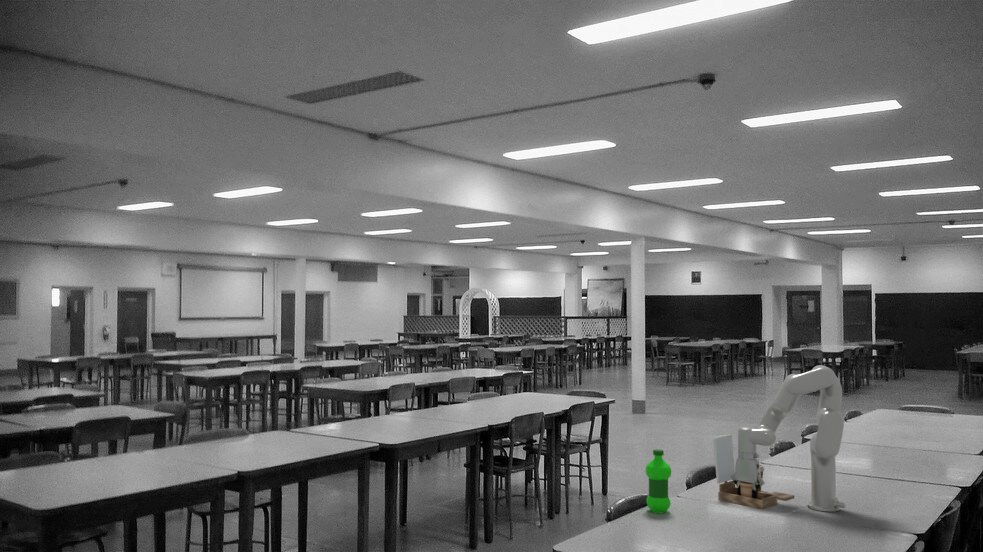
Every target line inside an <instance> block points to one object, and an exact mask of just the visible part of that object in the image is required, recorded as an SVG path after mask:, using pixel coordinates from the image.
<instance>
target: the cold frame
mask: <svg viewBox="0 0 983 552" xmlns="http://www.w3.org/2000/svg"><path fill="white" fill-rule="evenodd" d="M717 494H718V496H717V498H718V501H722V502H728V503H732V504H736V505H740V506H744V507H745V506H746V507H751V508H756V509H761V510H763V509H766V508H768V507H771V506H773V505H777V504H778V499H777V495H774V494H770V492H764V491H763V492H762V491H761V492H758V497H757V499H754V498H749V497H744V496H739V495H738V487H737V486H736V484H735V483H734V481H733V480H729V481H726V482H722V483H719V491H718V492H717Z"/></svg>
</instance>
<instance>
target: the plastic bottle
mask: <svg viewBox="0 0 983 552" xmlns="http://www.w3.org/2000/svg"><path fill="white" fill-rule="evenodd" d="M664 453H665V451H664V450H662V449H657V448H656V449H653V450H652V455H653V456H654V457H653V459H651V460H650V461H649V462H648V463H647V464H646V465H645V474H646V477H648V495H647V497H646V505H647V507H648V509H649V510H650V511H651V512H652V513H655V514H664V513H665V512H666V511H668V510H669V509H670V507H671V499H670V498H669V479H670V478H671V476H672V469H671V466H670V464H669V463H668V462H667V461H666V460H664V459H663V456H664Z"/></svg>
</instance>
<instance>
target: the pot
mask: <svg viewBox="0 0 983 552" xmlns="http://www.w3.org/2000/svg"><path fill="white" fill-rule="evenodd" d="M739 485H740V487H741V496H744V497H749V498H752V490H753V484H751V483H747V482H739ZM755 486H756V484H755Z"/></svg>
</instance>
